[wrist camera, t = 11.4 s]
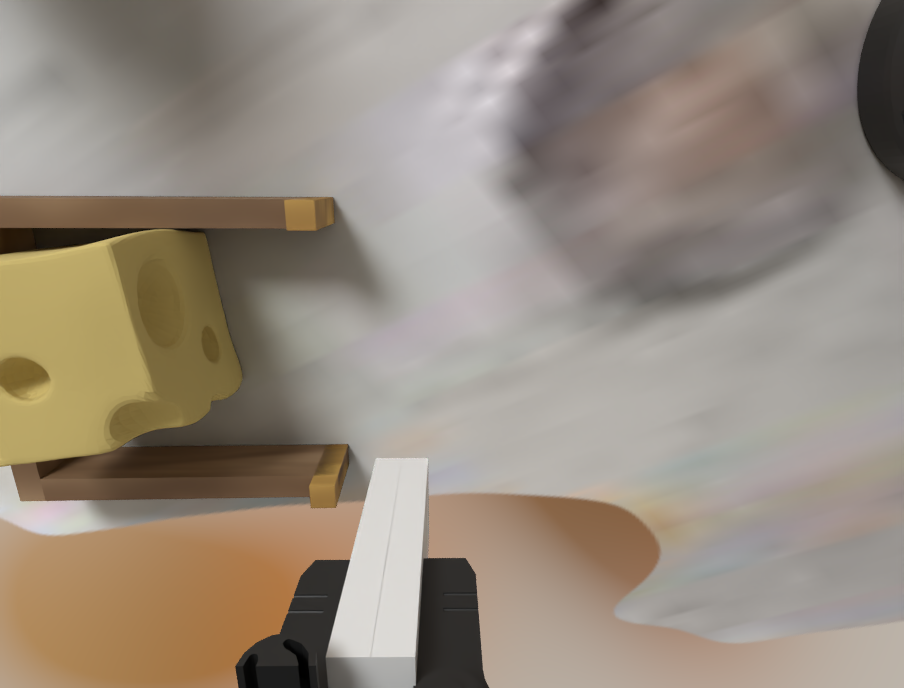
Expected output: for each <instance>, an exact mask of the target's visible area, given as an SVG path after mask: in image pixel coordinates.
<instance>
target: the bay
mask: <svg viewBox="0 0 904 688" xmlns="http://www.w3.org/2000/svg"><path fill="white" fill-rule="evenodd" d="M333 223H335V221H334V205H333V197H145V196H0V255H1V254H7V253H14V252H20V251H27V250H34V249H37V248H36V243H35V239H34V235H33V230H32V228H287V230H299V231H316V230H319V229H321V228H324V227H326V226H328V225H331V224H333ZM348 466H349V453H348V444H336V445H251V446H165V447H119V448H117V449H116V450H114V451H111V452H107V453H103V454H97V455H90V456H81V457H72V458H64V459H57V460H50V461H43V462H36V463H29V464H16V465H11V468H12V472H13V475H14V479H15V483H16V486H17V490H18V493H19V497H20V501H64V500H130V499H196V498H263V497H310V503H311V508H336V506H337V502H338V499H339V496H340V492H341V489H342V486H343V482H344V479H345V476H346V472H347V469H348Z"/></svg>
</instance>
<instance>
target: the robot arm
mask: <svg viewBox="0 0 904 688" xmlns="http://www.w3.org/2000/svg"><path fill="white" fill-rule="evenodd" d="M858 103H859V111H860V117H861V121H862V125H863V128H864V131H865V134H866V136H867V138H868V141H869V143H870V145H871V146H872V148H873V150H874V152H875V153H876V155H877V156H878V157H879V159H880V160H881V161H882V162H883V164H884V165H885V166H886V167H887V168H888V169H889V170H891V171H892V172H893V173H894V174H895V175H897V176H898V177H900V178H901V179H903V180H904V0H881V2H880V4H879V6H878V8H877V10H876V12H875V15H874V17H873V19H872V21H871V24H870V27H869V29H868V32H867V35H866V39H865V42H864V45H863V49H862V53H861V59H860V65H859V73H858ZM428 498H429V497H428V458H376V460H375V464H374V468H373V472H372V476H371V480H370V484H369V488H368V492H367V496H366V500H365V504H364V508H363V512H362V516H361V519H360V523H359V528H358V531H357V535H356V539H355V543H354V547H353V551H352V555H351V559H350V560H315V561H314V562H313V564H312V565H311V566H310V567H309V568H308V569H307V570H306V571H305V572H304V573H303V575H301V577H300V580H299V583H298V585H297V588H296V591H295V594H294V598H293V599H292V602H291V605H290V608H289V610H288V611H289V612H288V614H287V615H286V618H285V621H284V624H283V626H282V629H281V632H280V634H278V635H272V636H270V637H267V638H265V639H263V640H261V641H259V642H257V643H256V644H254V645H253V646H252V647H251V648H250V649H248V650H247V651H246V652H245V653H244V654H243V656H242V657H241V659H240V660H239V662H238V663H237V665H236V666H235V667H236V674H237V680H238V687H239V688H489V687H488V685H487V683H486V681H485V678H484V673H483V666H482V654H481V640H480V626H479V614H478V601H477V586H476V574H475V572H474V571H473V569H472V568H471V566H470V564H469V563H468V561H467V560H466V558H428V546H429V501H428V500H429V499H428Z"/></svg>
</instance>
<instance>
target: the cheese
mask: <svg viewBox="0 0 904 688" xmlns="http://www.w3.org/2000/svg"><path fill="white" fill-rule="evenodd" d="M242 378H243V376H242V371H241V367H240V364H239V361H238V358H237V355H236V352H235V350H234V347H233V344H232V341H231V338H230V334H229V331H228V327H227V323H226V319H225V314H224V311H223V307H222V303H221V299H220V295H219V291H218V286H217V282H216V278H215V274H214V270H213V265H212V261H211V256H210V252H209V247H208V243H207V239H206V236H205V233H203V232H189V231H181V230H172V229H155V230H147V231H141V232H136V233H131V234H126V235H122V236H118V237H114V238H110V239H106V240H102V241H99V242H94V243H87V244H78V245H69V246H59V247H49V248H41V249H34V250H27V251H20V252H14V253H7V254H1V255H0V467H2V466H9V465H16V464H29V463H36V462H43V461H50V460H57V459H64V458H72V457H81V456H90V455H97V454H103V453H107V452H111V451H114V450H116V449H117V448H119V447H121V446H123V445H124V444H126V443H127V442H129V441H130V440H132V439H133V438H135V437H137V436H139V435H141V434H144V433H147V432H149V431H153V430H157V429H163V428H174V427H183V426H187V425H190V424H193V423H195V422H197V421H199V420H200V419H202V418H203V417H204V416H205V415H206V414H207V413H208V412H209V411H210V408H211V401H215V400H222V399H226V398H228V397H229V396H231V395H233V394H234V393H235V392H236V391H237V390H238V389H239V387H240V385H241V382H242Z"/></svg>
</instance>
